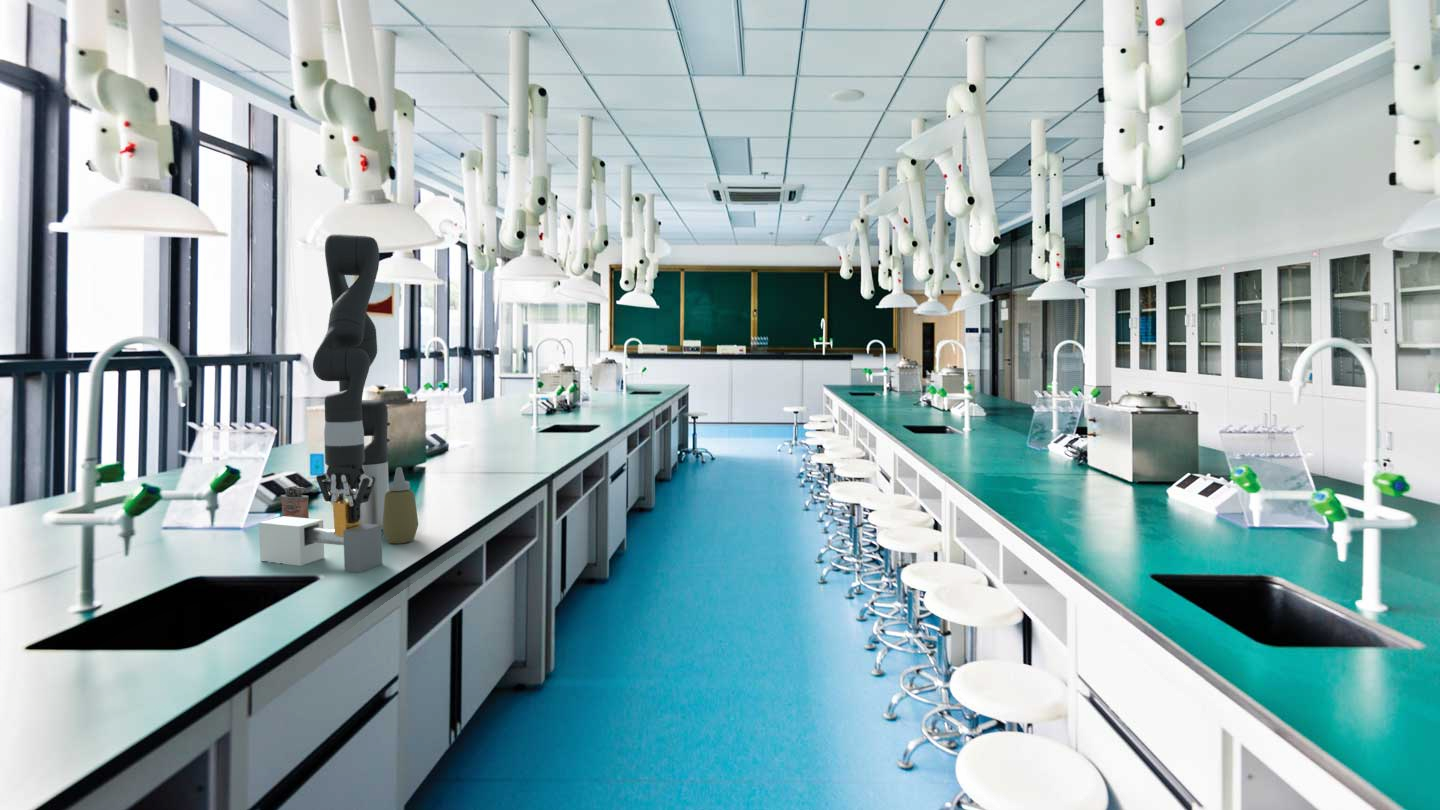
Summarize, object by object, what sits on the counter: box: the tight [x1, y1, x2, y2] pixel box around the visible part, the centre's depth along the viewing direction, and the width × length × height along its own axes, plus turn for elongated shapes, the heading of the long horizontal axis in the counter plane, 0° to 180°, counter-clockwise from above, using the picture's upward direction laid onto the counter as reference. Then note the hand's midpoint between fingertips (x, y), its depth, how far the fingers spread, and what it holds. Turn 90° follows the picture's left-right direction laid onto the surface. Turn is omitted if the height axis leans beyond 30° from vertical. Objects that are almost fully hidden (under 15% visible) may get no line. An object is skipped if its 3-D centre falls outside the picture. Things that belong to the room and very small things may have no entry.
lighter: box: [280, 485, 310, 519], centre depth 194 cm, size 8×3×10 cm, turn 73°
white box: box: [258, 516, 325, 567], centre depth 162 cm, size 11×6×9 cm, turn 74°
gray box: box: [343, 524, 383, 573], centre depth 157 cm, size 4×6×9 cm, turn 164°
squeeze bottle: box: [382, 466, 419, 545], centre depth 178 cm, size 8×8×18 cm
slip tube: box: [304, 498, 360, 546], centre depth 159 cm, size 18×4×10 cm, turn 74°
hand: (347, 521), depth 158 cm, fingers closed on slip tube, 3 cm apart
